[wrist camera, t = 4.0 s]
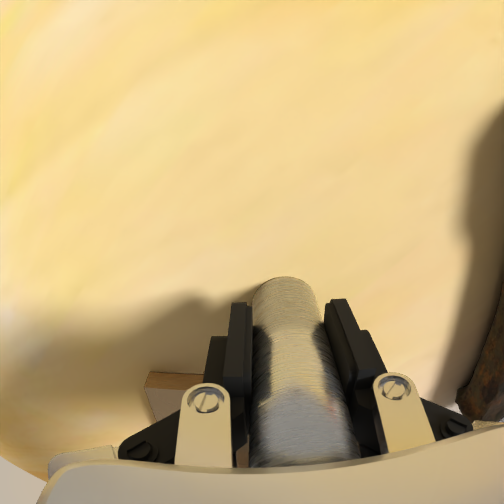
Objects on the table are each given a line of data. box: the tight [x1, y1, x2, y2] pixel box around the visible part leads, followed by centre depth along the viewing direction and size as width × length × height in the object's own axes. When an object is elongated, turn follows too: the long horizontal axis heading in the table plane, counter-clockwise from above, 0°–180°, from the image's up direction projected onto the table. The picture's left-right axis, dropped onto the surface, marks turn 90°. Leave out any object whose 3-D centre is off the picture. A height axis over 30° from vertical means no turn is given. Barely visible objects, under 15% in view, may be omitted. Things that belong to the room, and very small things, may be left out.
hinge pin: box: [248, 277, 361, 468], centre depth 9 cm, size 3×3×10 cm
